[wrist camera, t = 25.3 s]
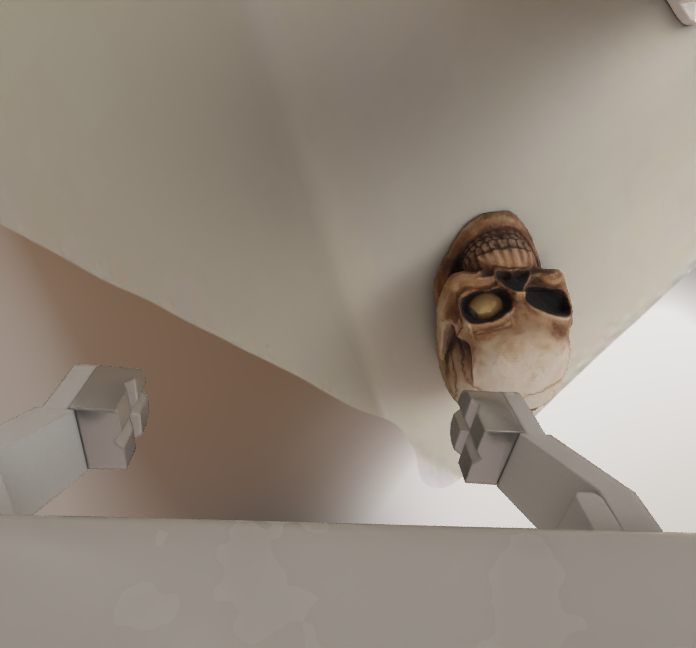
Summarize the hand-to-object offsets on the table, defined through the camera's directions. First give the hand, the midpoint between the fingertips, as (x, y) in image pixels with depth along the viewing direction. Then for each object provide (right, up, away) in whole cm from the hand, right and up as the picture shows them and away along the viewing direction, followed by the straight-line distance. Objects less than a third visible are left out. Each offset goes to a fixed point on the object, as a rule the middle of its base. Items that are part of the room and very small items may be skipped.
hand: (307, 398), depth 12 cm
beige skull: (+16, +5, +38) cm, 42 cm away
